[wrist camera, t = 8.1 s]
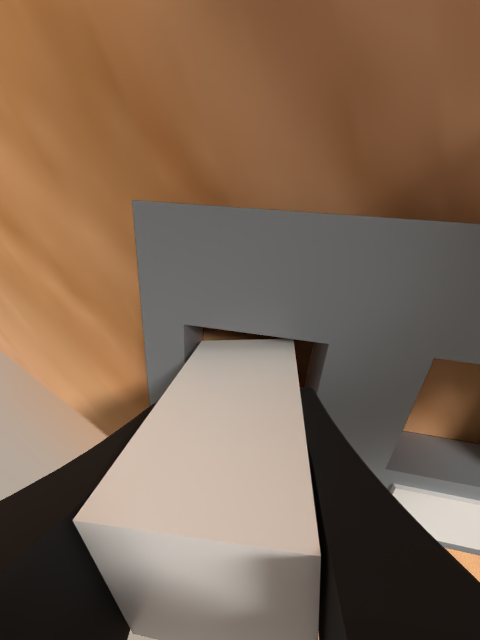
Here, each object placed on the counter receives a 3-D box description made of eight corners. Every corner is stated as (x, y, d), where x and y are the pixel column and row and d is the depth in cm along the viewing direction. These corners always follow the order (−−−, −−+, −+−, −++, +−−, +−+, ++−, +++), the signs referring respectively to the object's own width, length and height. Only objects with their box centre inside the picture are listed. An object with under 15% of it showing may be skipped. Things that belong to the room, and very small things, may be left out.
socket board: (669, 243, 8) (851, 248, 5) (481, 506, 13) (528, 571, 10) (166, 207, 10) (128, 199, 8) (175, 444, 15) (154, 486, 13)
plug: (293, 338, 10) (320, 555, 3) (295, 415, 11) (316, 676, 5) (201, 340, 10) (72, 519, 4) (213, 412, 12) (133, 633, 5)
